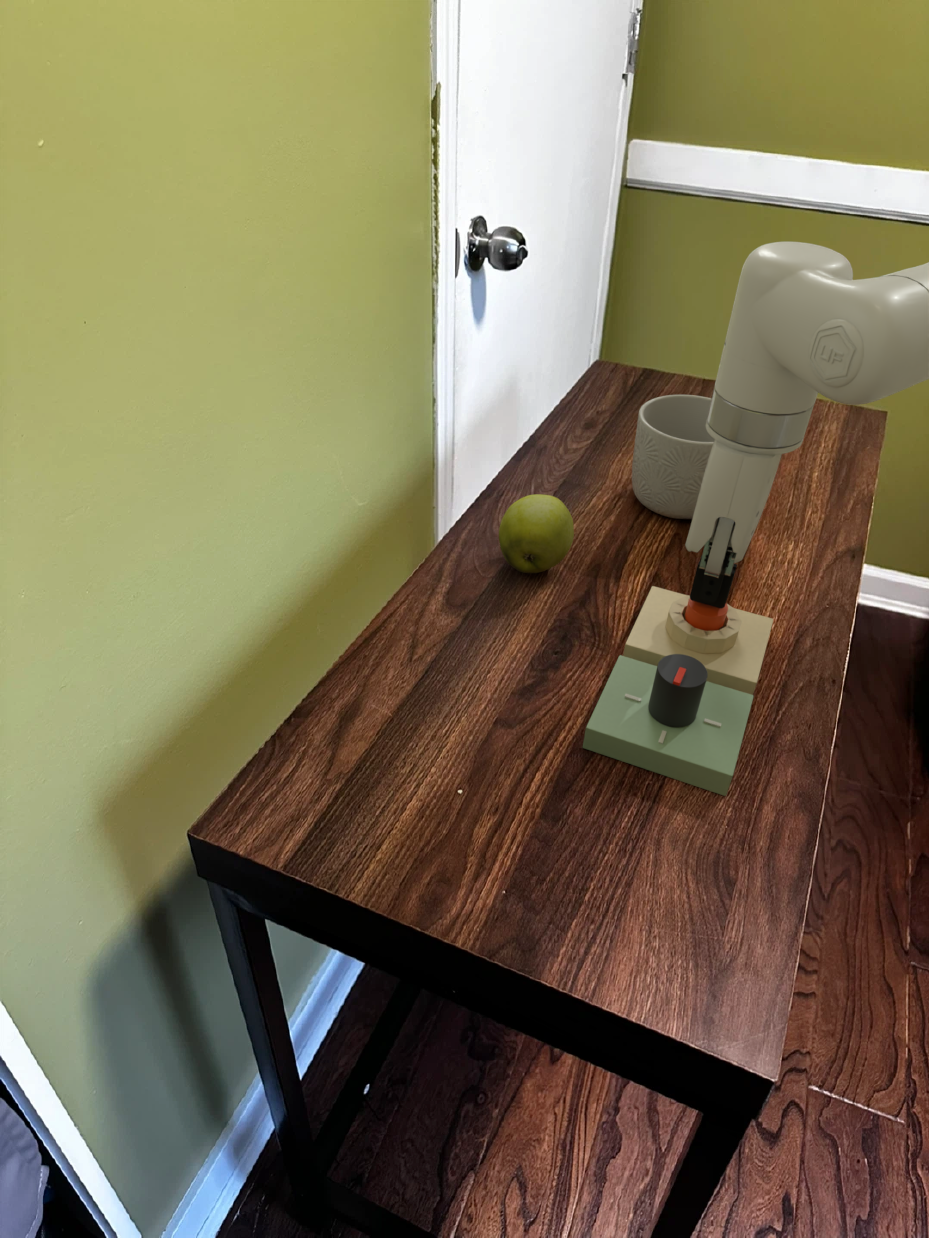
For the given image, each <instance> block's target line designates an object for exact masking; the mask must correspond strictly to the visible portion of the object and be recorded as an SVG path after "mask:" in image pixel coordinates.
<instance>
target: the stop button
mask: <svg viewBox="0 0 929 1238" xmlns="http://www.w3.org/2000/svg"><path fill="white" fill-rule="evenodd" d="M727 604H728V603H727V602H726V604H725V607H724V608H717V607H713V606H710V605H706V604H703V603H699V602H695V601H692V600H691V599H690V598H689V601H688V605H687V609H686V613H685V619H686V621H687V622H688V623H689V624H690V625H692V626H693V627H694V628H697V629H701V630H704V631H716V630H719V629H720V628H721V627H722V626H723V625H724V622H725V618H726V615H727V611H728V605H729V604H728V605H727Z"/></svg>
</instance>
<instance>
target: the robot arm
mask: <svg viewBox="0 0 929 1238" xmlns="http://www.w3.org/2000/svg"><path fill="white" fill-rule="evenodd" d="M853 278H854V272H853V267H852V264H851V262H850V261H849V260H848V259H847V257H846V256H845V255H843V254H842V253H840V252H838V251H836V250H834V249H832V248H829V247H827V246H823V245H819V244H814V243H809V242H800V241H776V242H775V241H774V242H769V243H765V244H762V245H760V246H757V248H755V249H754V250H752V251H751V252H750V253H749V254H748V255H747V258H745V261H744V263H743V264H742V268H741V272H740V274H739V279H738V283H737V287H736V291H735V296H734V301H733V305H732V309H731V313H730V318H729V322H728V327H727V330H726V331H727V332H726V335H725V339H724V343H723V348H722V352H721V356H720V362H719V366H718V368H717V369H718V370H717V373H716V378H715V382H714V386H713V392H712V395H711V398H712V399H711V404H710V408H709V412H708V417H707V421H706V429H707V432H708V433H709V434H710V436H711V437H713V438H714V439H715V440H714V443H713V446H712V449H711V453H710V456H709V459H708V462H707V466H706V469H705V473H704V477H703V480H702V484H701V488H700V492H699V496H698V500H697V503H696V507H695V511H694V515H693V519H691V523H690V525H689V530H688V534H687V538H686V540H685V544H684V547H685V549H686V550H687V552H690V553H691V552H694V553H699V552H700V551H701V550H702V548H703V550H702V554H701V556H700V558H699V561H698V563H697V566H696V570H695V574H694V579H693V582H692V585H691V590H690V599H691V600H692V601H695V602H699V603H703V604H706V605H710V606H713V607H717V608H724V607H725V604H726V603H727V601H728V598H729V595H730V591H731V588H732V585H733V581H734V578H735V575H736V571H737V568H738V564H737V563H739V562H741V561H743V559H744V558H745V555H746V553H747V551H748V548H749V545H750V543H751V541H752V539H753V536H754V534H755V533H756V530H757V527H758V525H759V522H760V520H761V517H762V514H763V512H764V509H765V506H766V504H767V501H768V499H769V496H770V493H771V490H772V488H773V485H774V482H775V481H774V480H775V477H776V475H777V471H778V468H779V465H780V461H781V459H782V456H783V455H785V454H789V453H790V452H791V453H792V452H794V451H796V450H797V449H799V448H801V446H802V445H803V442H804V438H805V435H806V432H807V429H808V426H809V423H810V419H811V416H812V413H813V410H814V407H815V404H816V401H817V398H818V395H821V396H823V397H825V398H827V399H829V400H830V401H833V402H836V403H839V404H843V405H849V406H850V405H851V406H852V405H853V406H859V405H867V404H870V403H874V402H877V401H879V400H880V401H881V400H882V399H885V398H887V397H890V396H893V395H895V394H897V393H900V392H902V391H905V390H906V389H909V388H911V387H913V386H915V385H918V384H920V383H922V382H923V383H924V382H925V381H928V380H929V261H928V262H926V263H923V264H920V265H917V266H913V267H908V268H903V269H901V270H898V271H894V272H891V273H887V274H884V275H880V276H876V277H869V278H860V279H853Z"/></svg>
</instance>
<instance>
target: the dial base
mask: <svg viewBox="0 0 929 1238" xmlns="http://www.w3.org/2000/svg"><path fill="white" fill-rule="evenodd" d="M656 670H657V666H655V665H651V664H648V663H645V662H641V661H638V660H635V659H631V658H628V657H625V656H623V655H622V654H620V655H618V658H617V659H616V662H615V664H614V666H613V668H612V670H611V673H610V674H609V676H608V678H607V681H606V684H605V686H604V688H603V690H602V692H601V694H600V696H599V698H598V700H597V703H596V705H595V707H594V709H593V712H592V714H591V716H590V718H589V720H588V722H587V724H586V727H585V731H584V737H583V742H582V749H585V750H588V751H590V752H594V753H597V754H599V755H602V756H606V757H608V758H611V759H613V760H618V761H620V762H623V763H626V764H629V765H632V766H635V767H637V768H640V769H644V770H646V771H650V772H652V773H656V774H659V775H661V776H663V777H666V778H667V777H668V778H670V779H674V780H676V781H679V782H682V783H685V784H687V785H690V786H694V787H696V788H700V789H703V790H704V791H705V790H706V791H709V792H711V793H714V794H717V795H721V796H722V797H723V796H724V797H726V796H727V795H728V791H729V789H730V786H731V784H732V783H731V782H732V780H733V778H734V773H735V770H736V767H737V761H738V759H739V754H740V750H741V746H742V744H743V739H744V735H745V732H746V728H747V724H748V719H749V717H750V712H751V709H752V705H753V702H754V701H753V700H754V697H755V695H754V694H753V695H751V694H748V693H744V692H741V691H738V690H734V689H731V688H728V687H724V686H721V685H718V684H714V683H711V682H708V681H706V684H705V687H704V691H703V694H702V698H701V701H700V705H699V708H698V712H697V715H696V718H695V720H694V722H692V723H691V724H690V725H688V726H685V727H679V728H675V727H669V726H666V725H663V724H661V723H659V722H658V721H656V720H655V719H654V718H653V717H652V716H651V714H650V712H649V709H648V705H649V700H650V696H651V692H652V687H653V683H654V679H655V674H656Z"/></svg>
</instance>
